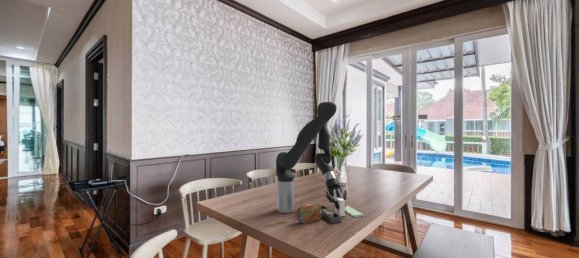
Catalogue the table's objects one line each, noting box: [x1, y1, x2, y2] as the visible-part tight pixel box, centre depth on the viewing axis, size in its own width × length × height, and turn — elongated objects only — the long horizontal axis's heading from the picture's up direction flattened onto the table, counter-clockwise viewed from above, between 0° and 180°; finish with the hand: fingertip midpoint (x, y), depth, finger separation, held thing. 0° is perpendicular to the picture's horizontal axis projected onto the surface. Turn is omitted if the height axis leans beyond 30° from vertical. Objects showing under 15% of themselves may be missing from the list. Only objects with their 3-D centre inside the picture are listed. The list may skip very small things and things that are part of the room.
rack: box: [321, 204, 342, 224], centre depth 132 cm, size 6×20×2 cm, turn 18°
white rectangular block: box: [334, 197, 346, 217], centre depth 134 cm, size 3×6×8 cm, turn 18°
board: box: [345, 205, 364, 218], centre depth 139 cm, size 6×16×1 cm, turn 18°
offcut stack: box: [323, 208, 335, 217], centre depth 132 cm, size 3×10×3 cm, turn 15°
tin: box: [295, 203, 323, 225], centre depth 125 cm, size 15×3×8 cm, turn 118°
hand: (341, 208), depth 133 cm, fingers closed on white rectangular block, 3 cm apart
